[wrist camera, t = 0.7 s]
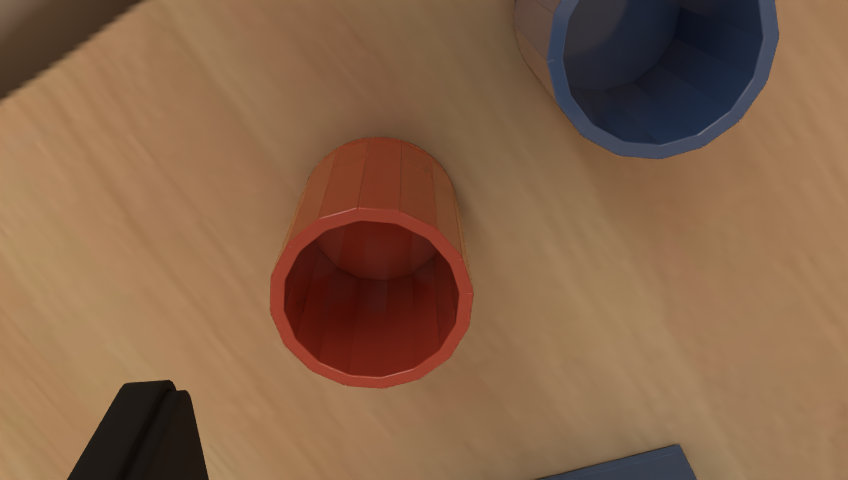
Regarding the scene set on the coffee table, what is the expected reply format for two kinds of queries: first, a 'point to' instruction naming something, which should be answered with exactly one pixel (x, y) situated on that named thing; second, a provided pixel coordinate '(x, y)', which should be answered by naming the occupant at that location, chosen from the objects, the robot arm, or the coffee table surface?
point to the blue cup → (649, 67)
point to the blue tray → (637, 468)
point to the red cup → (374, 267)
